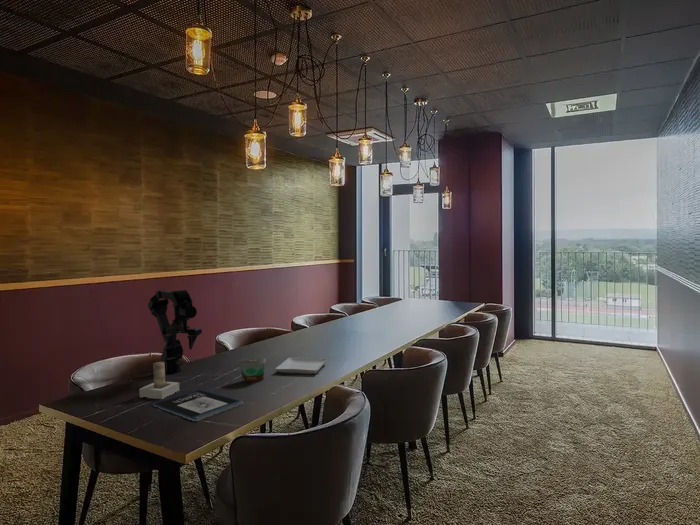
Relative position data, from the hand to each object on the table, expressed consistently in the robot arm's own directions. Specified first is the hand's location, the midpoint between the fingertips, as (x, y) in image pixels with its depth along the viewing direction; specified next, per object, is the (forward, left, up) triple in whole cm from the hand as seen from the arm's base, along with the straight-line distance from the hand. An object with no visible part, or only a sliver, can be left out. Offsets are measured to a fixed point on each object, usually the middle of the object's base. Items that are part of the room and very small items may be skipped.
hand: (182, 349), depth 220 cm
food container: (+38, -1, -13) cm, 40 cm away
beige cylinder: (+7, -25, -13) cm, 29 cm away
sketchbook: (+31, -33, -14) cm, 47 cm away
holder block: (+7, -25, -13) cm, 29 cm away
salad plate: (+52, +23, -14) cm, 58 cm away
